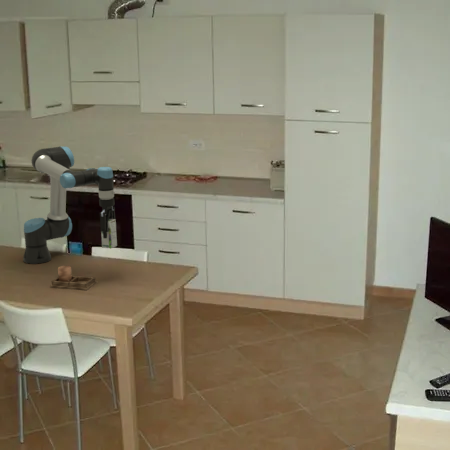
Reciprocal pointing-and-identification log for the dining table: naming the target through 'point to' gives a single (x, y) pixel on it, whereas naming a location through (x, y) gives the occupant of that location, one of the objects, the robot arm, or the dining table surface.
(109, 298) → the dining table surface
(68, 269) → the caddy
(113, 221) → the syrup box
